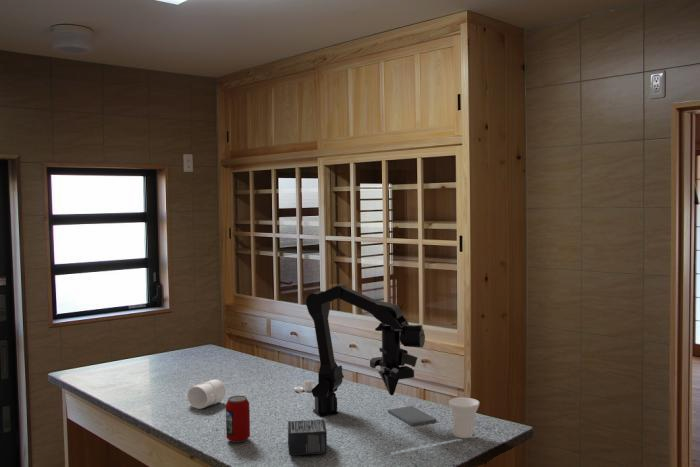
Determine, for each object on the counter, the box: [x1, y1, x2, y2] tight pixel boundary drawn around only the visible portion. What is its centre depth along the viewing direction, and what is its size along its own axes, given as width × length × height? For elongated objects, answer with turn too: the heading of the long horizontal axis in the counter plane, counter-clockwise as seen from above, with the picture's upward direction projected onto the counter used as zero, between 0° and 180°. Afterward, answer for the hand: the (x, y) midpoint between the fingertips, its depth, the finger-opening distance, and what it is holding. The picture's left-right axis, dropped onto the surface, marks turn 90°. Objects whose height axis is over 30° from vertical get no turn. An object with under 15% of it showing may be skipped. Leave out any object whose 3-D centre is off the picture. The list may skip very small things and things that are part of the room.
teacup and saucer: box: [293, 379, 317, 395], centre depth 235 cm, size 9×8×4 cm
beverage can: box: [225, 395, 251, 443], centre depth 187 cm, size 7×7×12 cm
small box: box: [287, 419, 328, 456], centre depth 178 cm, size 11×6×10 cm
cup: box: [448, 397, 481, 439], centre depth 187 cm, size 9×9×10 cm
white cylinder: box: [187, 379, 226, 410], centre depth 220 cm, size 12×9×8 cm
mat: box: [387, 405, 437, 427], centre depth 204 cm, size 9×15×1 cm, turn 25°
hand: (391, 394), depth 201 cm, fingers closed
